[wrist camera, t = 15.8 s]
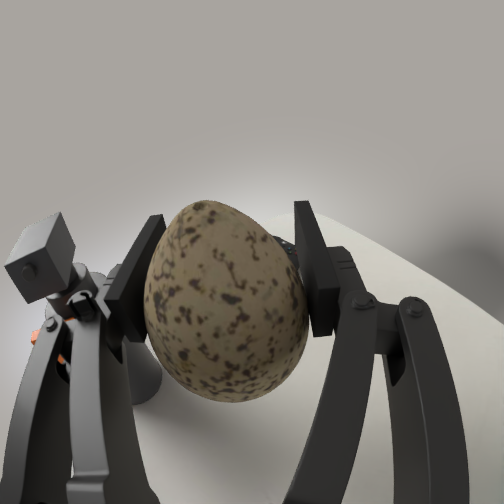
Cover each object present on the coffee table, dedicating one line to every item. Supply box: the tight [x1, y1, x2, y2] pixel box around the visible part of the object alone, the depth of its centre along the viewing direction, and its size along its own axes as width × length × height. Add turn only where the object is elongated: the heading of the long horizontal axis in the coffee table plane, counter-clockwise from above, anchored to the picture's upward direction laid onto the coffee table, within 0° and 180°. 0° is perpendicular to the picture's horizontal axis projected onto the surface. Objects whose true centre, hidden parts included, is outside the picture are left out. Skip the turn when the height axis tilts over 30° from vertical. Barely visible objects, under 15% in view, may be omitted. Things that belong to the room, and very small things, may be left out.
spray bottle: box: [4, 212, 162, 404], centre depth 20 cm, size 7×8×20 cm
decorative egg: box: [144, 200, 309, 403], centre depth 12 cm, size 7×7×10 cm
